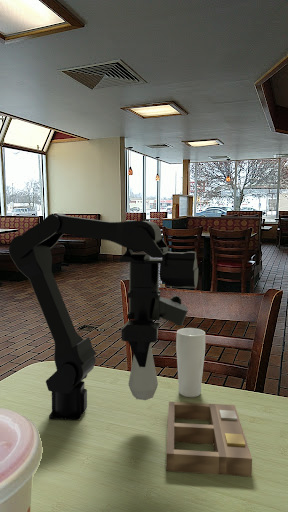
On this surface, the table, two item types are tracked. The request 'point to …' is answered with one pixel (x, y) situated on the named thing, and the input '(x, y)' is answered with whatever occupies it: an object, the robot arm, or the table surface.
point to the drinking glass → (190, 360)
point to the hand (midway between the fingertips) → (143, 363)
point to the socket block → (208, 440)
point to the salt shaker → (143, 378)
